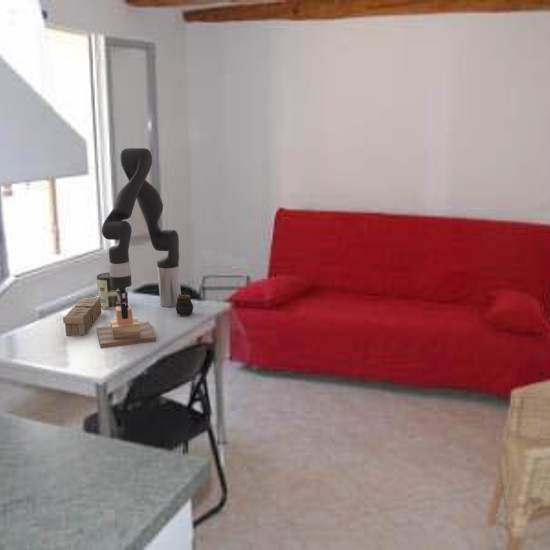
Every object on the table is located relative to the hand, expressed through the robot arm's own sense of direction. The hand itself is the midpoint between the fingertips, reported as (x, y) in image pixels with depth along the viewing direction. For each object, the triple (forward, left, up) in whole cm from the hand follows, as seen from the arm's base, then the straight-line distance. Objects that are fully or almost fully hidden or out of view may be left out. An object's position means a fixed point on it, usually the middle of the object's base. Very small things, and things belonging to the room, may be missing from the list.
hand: (124, 315), depth 248 cm
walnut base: (0, 0, -8) cm, 8 cm away
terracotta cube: (0, 0, -3) cm, 3 cm away
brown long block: (-21, -14, -9) cm, 27 cm away
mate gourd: (-18, +26, -8) cm, 33 cm away
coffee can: (-44, -2, -8) cm, 45 cm away
